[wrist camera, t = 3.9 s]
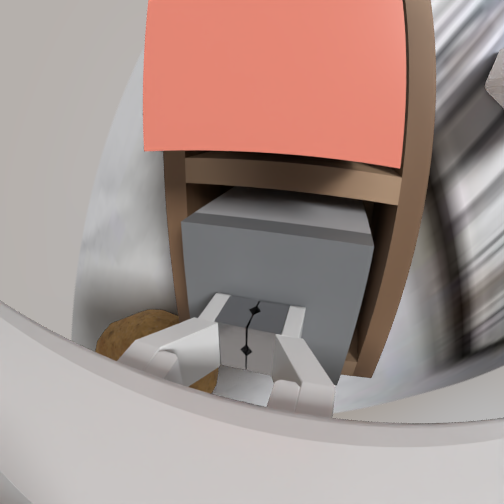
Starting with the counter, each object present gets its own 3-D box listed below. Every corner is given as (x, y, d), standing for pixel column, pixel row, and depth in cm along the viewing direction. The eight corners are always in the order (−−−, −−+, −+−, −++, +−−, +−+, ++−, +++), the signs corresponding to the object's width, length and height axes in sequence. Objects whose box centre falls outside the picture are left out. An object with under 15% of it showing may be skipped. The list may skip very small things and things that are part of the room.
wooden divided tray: (397, 23, 11) (425, -29, 5) (367, 301, 19) (371, 377, 13) (228, 16, 14) (170, -26, 7) (226, 279, 21) (182, 341, 15)
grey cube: (361, 196, 13) (374, 246, 8) (342, 303, 16) (336, 385, 11) (239, 183, 15) (180, 221, 9) (239, 286, 17) (195, 356, 12)
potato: (107, 326, 29) (61, 372, 22) (177, 261, 22) (112, 322, 15) (169, 388, 30) (135, 440, 23) (260, 350, 23) (228, 428, 16)
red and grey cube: (372, 12, 8) (391, -63, 3) (370, 147, 11) (400, 168, 5) (230, 10, 9) (155, -46, 4) (227, 135, 12) (144, 151, 7)
